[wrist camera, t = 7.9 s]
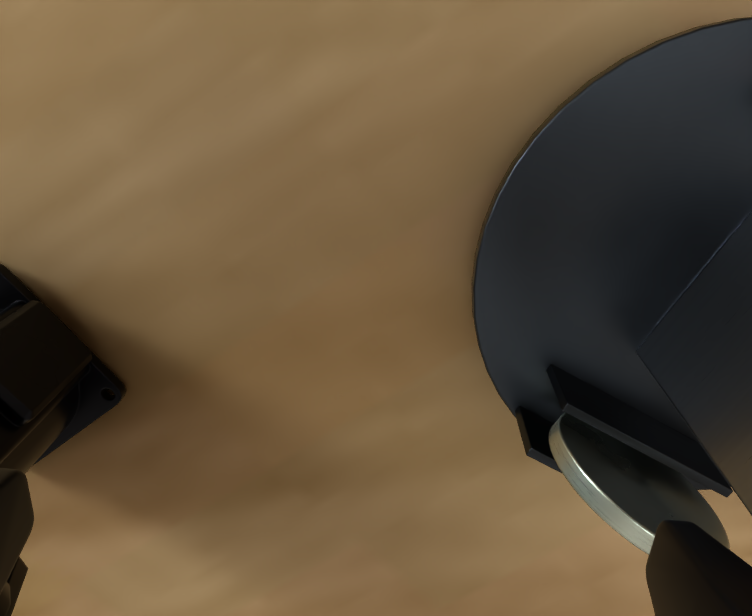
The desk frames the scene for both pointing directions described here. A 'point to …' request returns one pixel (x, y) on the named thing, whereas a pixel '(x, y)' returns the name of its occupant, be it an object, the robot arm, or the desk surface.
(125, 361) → the desk surface
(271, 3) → the desk surface
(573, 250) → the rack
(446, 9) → the desk surface
